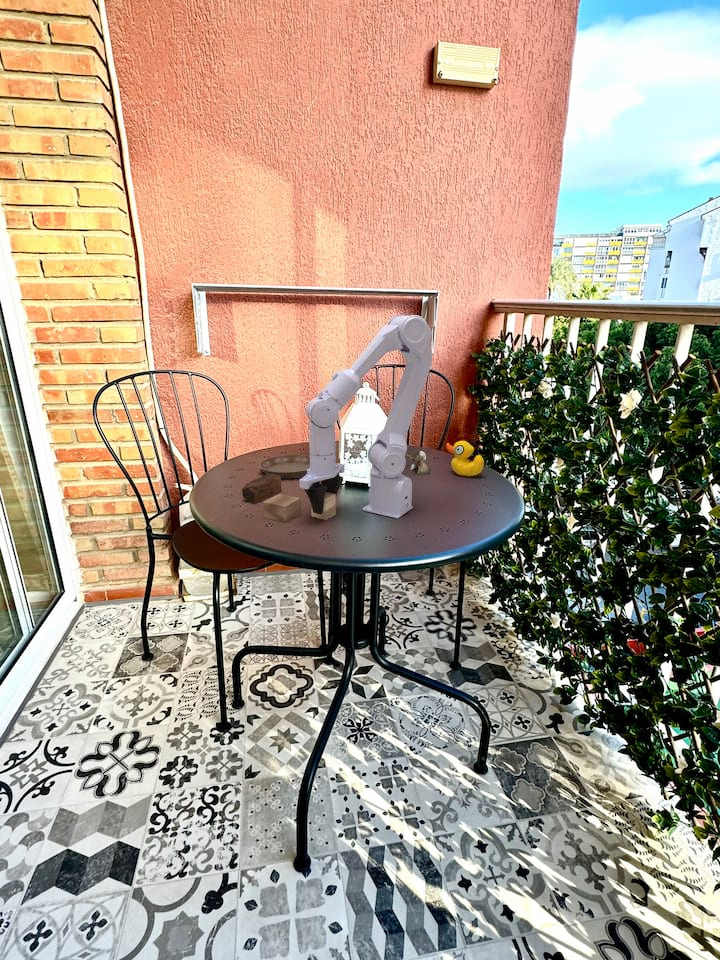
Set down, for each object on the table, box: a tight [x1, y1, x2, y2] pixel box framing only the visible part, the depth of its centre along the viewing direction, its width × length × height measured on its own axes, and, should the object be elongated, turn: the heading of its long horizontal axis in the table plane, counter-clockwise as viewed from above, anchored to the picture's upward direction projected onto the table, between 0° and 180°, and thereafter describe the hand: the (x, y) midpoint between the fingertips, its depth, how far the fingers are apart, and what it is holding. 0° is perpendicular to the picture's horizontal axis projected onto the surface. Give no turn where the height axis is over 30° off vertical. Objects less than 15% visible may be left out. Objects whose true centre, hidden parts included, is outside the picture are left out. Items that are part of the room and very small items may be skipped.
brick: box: [241, 474, 282, 504], centre depth 124 cm, size 11×4×5 cm, turn 150°
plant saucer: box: [258, 454, 310, 480], centre depth 144 cm, size 18×18×3 cm
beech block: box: [310, 492, 337, 521], centre depth 112 cm, size 4×4×5 cm
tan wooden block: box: [262, 493, 302, 523], centre depth 112 cm, size 6×6×4 cm
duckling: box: [445, 440, 485, 477], centre depth 140 cm, size 11×5×10 cm, turn 58°
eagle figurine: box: [405, 450, 431, 476], centre depth 145 cm, size 8×7×9 cm
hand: (323, 509), depth 112 cm, fingers closed on beech block, 4 cm apart
